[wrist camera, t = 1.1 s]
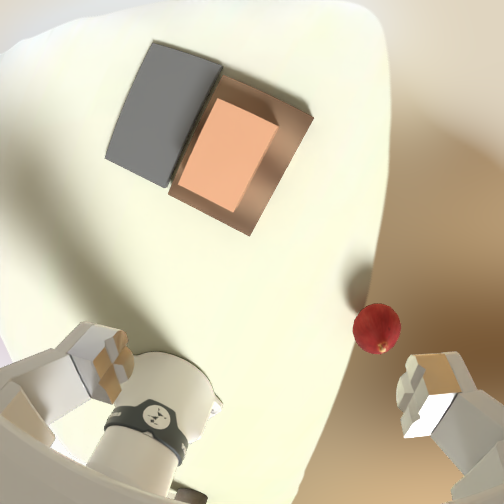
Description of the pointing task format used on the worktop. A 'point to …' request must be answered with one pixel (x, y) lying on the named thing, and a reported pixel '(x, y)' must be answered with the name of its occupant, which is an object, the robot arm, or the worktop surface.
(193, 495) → the pillar candle
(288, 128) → the board
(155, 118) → the mat
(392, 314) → the onion
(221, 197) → the orange rectangular block
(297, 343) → the worktop surface
